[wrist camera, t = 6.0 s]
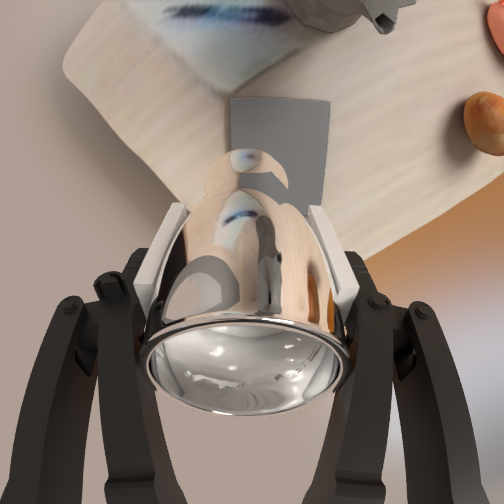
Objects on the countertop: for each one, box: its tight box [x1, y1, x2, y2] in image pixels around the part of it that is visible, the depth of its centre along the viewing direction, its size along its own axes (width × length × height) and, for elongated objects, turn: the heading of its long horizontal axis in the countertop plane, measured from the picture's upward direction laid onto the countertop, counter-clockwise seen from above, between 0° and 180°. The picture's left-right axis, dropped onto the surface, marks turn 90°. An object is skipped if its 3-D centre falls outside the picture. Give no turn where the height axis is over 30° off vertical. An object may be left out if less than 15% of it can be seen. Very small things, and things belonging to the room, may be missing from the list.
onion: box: [464, 92, 504, 156], centre depth 24 cm, size 10×10×10 cm
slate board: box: [230, 97, 330, 216], centre depth 34 cm, size 16×12×1 cm
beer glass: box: [138, 148, 351, 418], centre depth 14 cm, size 7×7×15 cm
